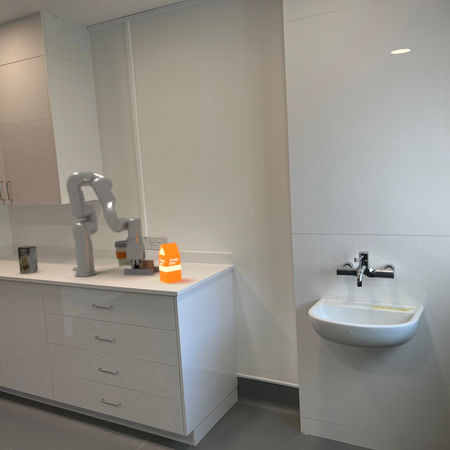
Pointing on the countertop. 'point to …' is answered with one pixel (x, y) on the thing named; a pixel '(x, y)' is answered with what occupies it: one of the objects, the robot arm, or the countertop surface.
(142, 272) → the chute
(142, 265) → the block
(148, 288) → the countertop surface
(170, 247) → the orange juice
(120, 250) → the reusable coffee cup
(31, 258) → the coffee box
